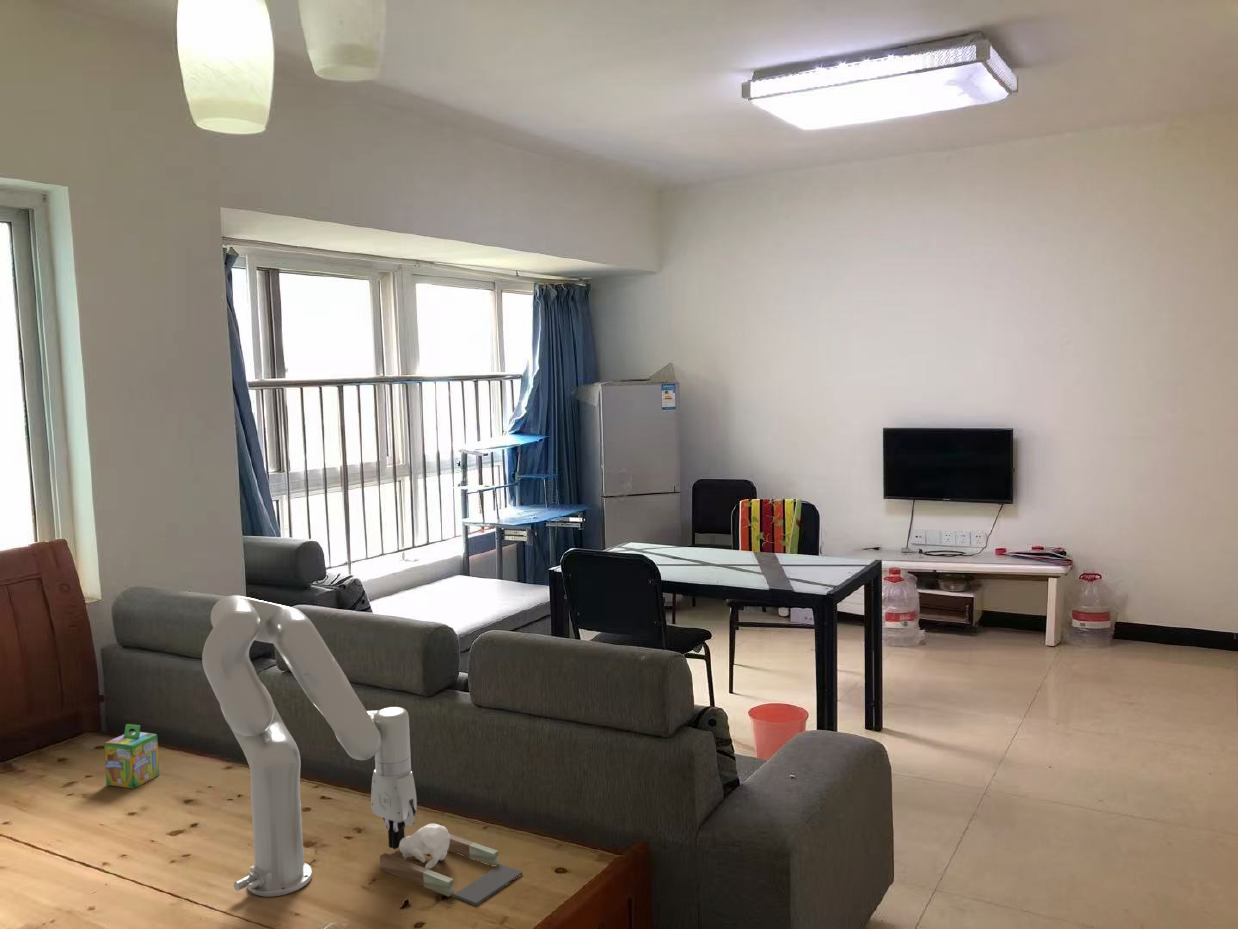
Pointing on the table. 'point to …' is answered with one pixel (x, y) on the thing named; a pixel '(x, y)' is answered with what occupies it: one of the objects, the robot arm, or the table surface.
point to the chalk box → (131, 758)
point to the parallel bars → (432, 878)
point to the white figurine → (427, 844)
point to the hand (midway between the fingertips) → (396, 845)
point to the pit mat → (487, 884)
